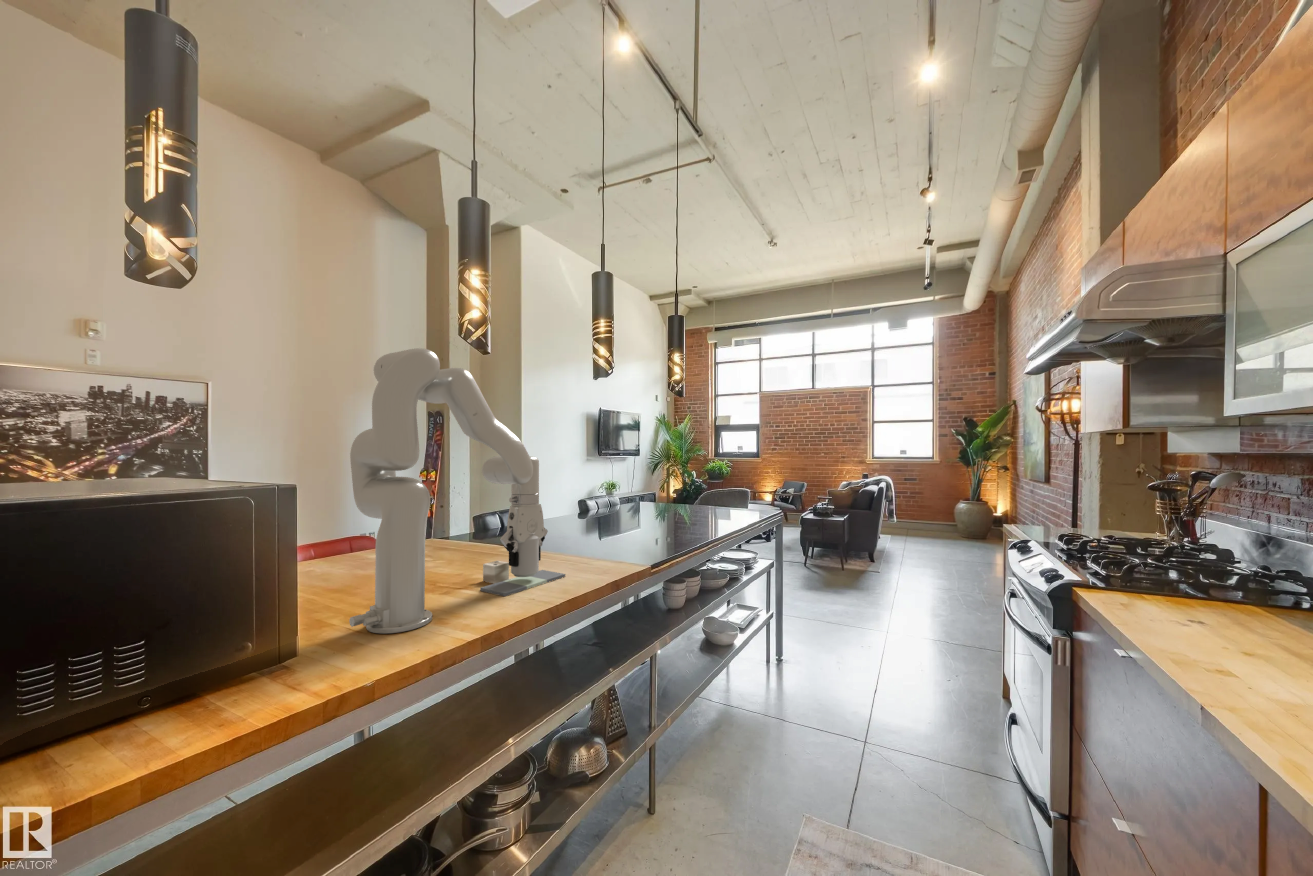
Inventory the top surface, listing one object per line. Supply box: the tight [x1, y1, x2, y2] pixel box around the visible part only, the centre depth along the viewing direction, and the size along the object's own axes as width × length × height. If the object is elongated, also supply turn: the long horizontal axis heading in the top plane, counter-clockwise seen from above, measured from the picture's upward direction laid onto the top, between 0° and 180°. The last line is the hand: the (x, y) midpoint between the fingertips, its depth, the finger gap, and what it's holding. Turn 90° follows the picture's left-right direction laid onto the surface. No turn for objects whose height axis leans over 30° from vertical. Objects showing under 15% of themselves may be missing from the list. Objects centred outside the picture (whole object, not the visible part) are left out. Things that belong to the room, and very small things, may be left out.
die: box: [482, 560, 510, 584], centre depth 138 cm, size 5×5×5 cm
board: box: [479, 569, 566, 597], centre depth 135 cm, size 22×10×1 cm, turn 148°
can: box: [510, 533, 540, 578], centre depth 135 cm, size 8×8×12 cm
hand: (525, 562), depth 135 cm, fingers closed on can, 7 cm apart
